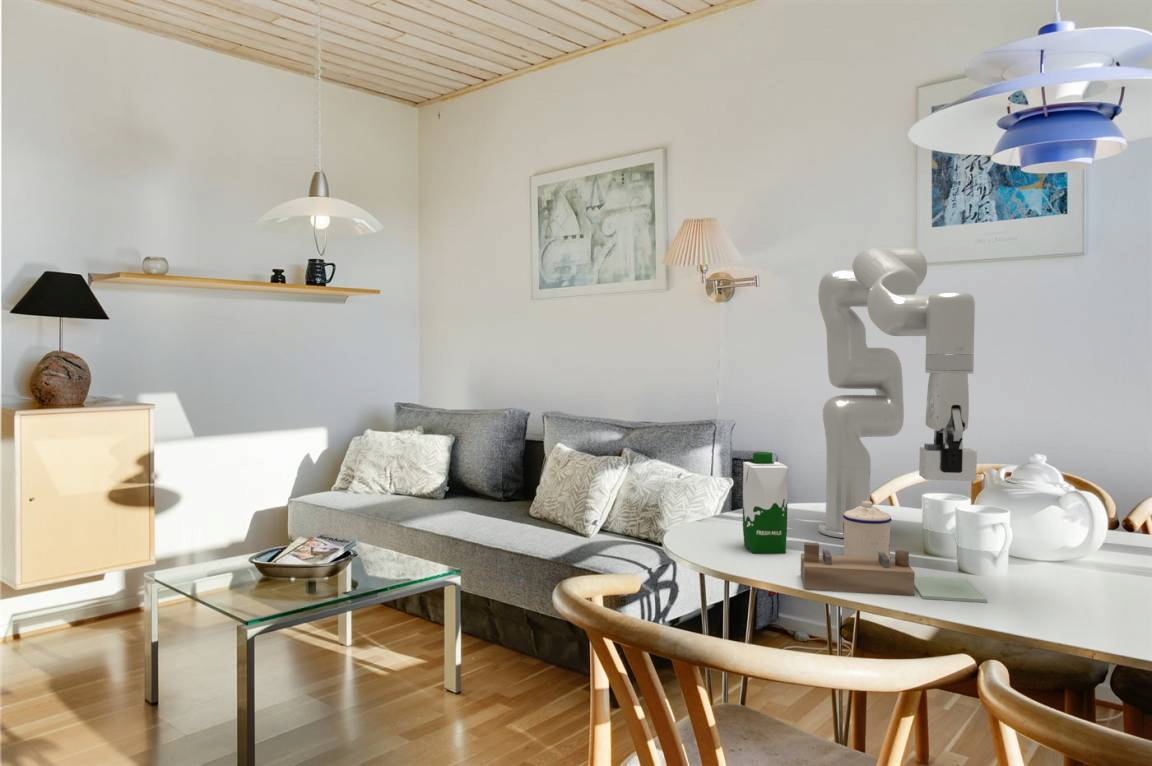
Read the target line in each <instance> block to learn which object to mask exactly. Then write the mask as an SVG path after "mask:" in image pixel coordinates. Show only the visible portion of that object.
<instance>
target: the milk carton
mask: <svg viewBox="0 0 1152 766" xmlns="http://www.w3.org/2000/svg"><path fill="white" fill-rule="evenodd" d="M742 465H743V467H742V469H743V470H742V471H743V473H742V474H743V478H742V532H743V533H742V534H743V545H744V547H746V548H747V549H748V551H749V552H751V553H752V554H786V553H787V536H788V535H787V534H788V499H789V498H788V496H789V495H788V484H789V483H788V481H789V467H788V466H787V465H786V464H784V463H781V462H779V461H773V452H767V451H765V452H764V451H758V452H756V451H755V452H753V453H752V461H743V463H742Z"/></svg>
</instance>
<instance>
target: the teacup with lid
mask: <svg viewBox="0 0 1152 766" xmlns="http://www.w3.org/2000/svg"><path fill="white" fill-rule="evenodd" d="M873 504H874V503H873V502H872V501H871V500H870V501H863V502H862V506H858V507H856V508H855V509H853V510H848V511H846V512H845V513H844V515H843V518H844V520H843V522H842V532H843V535H844V538H843V556H856V557H876V558H878V552H884V553H885V554H886V555H887V557H888V558H891V557H890V556H891V554H890V552H891V551H890V550H891V548H890V547H891V522H892V519H893V518H892V516H891V515H890V514H889V513H887V512H884V511H882V510H880V509H879V508H878V507H875V506H873Z"/></svg>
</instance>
